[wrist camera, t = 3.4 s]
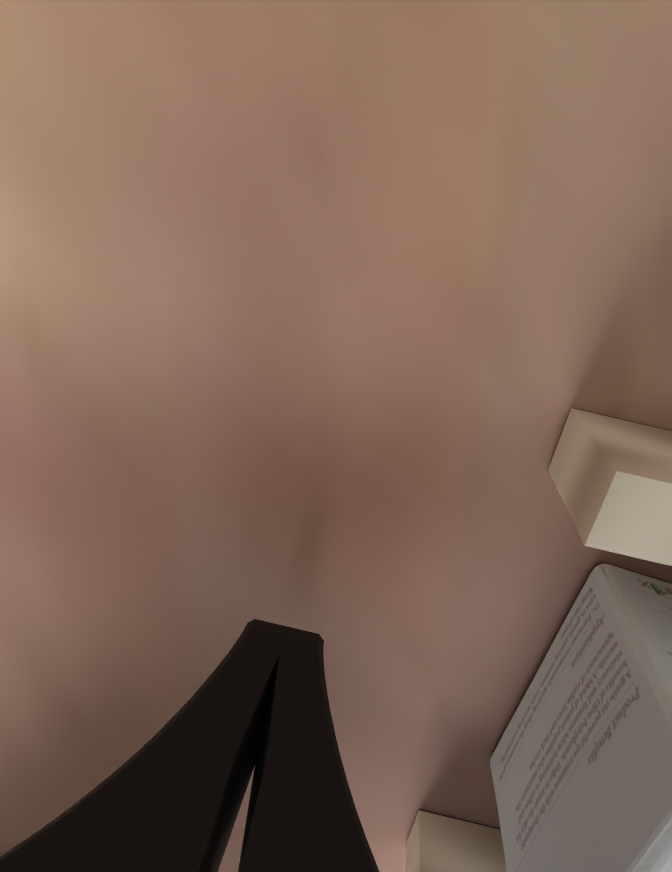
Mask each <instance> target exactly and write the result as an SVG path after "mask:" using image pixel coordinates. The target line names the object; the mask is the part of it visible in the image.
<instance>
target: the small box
mask: <svg viewBox="0 0 672 872" xmlns="http://www.w3.org/2000/svg"><path fill="white" fill-rule="evenodd" d="M490 767H491V772H492V778H493V784H494V789H495V796H496V802H497V808H498V814H499V821H500V828H501V834H502V841H503V847H504V854H505V861H506V867H507V872H672V584H670V583H667V582H664V581H661V580H657V579H654V578H651V577H648V576H644V575H641V574H638V573H635V572H632V571H628V570H625V569H622V568H619V567H616V566H613V565H608V564H600V565H598V566H596V567H595V568H594V569H593V571H592V572H591V574H590V575H589V577H588V579H587V581H586V583H585V585H584V587H583V588H582V590H581V592H580V594H579V595H578V597H577V599H576V601H575V603H574V604H573V606H572V608H571V610H570V612H569V613H568V615H567V617H566V619H565V621H564V623H563V625H562V626H561V628H560V630H559V632H558V634H557V636H556V638H555V640H554V641H553V643H552V645H551V647H550V649H549V651H548V653H547V654H546V656H545V658H544V660H543V662H542V664H541V666H540V668H539V670H538V671H537V673H536V675H535V677H534V679H533V681H532V682H531V684H530V686H529V688H528V690H527V692H526V694H525V695H524V697H523V699H522V701H521V703H520V705H519V706H518V708H517V710H516V712H515V714H514V715H513V717H512V719H511V721H510V723H509V725H508V726H507V728H506V730H505V732H504V734H503V736H502V738H501V740H500V742H499V744H498V746H497V747H496V749H495V751H494V753H493V754H492V756H491V758H490Z"/></svg>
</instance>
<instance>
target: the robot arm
mask: <svg viewBox="0 0 672 872" xmlns="http://www.w3.org/2000/svg"><path fill="white" fill-rule="evenodd" d="M323 644H324V640H323V639H322V637H321V636H320V635H319V634H316V633H312V632H307V631H303V630H299V629H295V628H291V627H286V626H282V625H278V624H274V623H269V622H265V621H261V620H257V619H254V620H252V621H250V622H248V623H247V625H246V627H245V629H244V631H243V632H242V634H241V635H240V637H239V638H238V640H237V642H236V643H235V644H234V646H233V647H232V649H231V650H230V651H229V653H228V654H227V655H226V657H225V658H224V659H223V661H222V662H221V663H220V664H219V666H218V667H217V668H216V670H215V671H214V672H213V673H212V674H211V675H210V677H209V678H208V679H207V680H206V681H205V682H204V684H203V685H202V686H201V687H200V688H199V689H198V691H197V692H196V693H195V694H194V695H193V696H192V698H191V699H190V700H189V701H188V702H187V703H186V704H185V705H184V706H183V707H182V708H181V709H180V710H179V711H178V712H177V713H176V714H175V715H174V716H173V717H172V718H171V720H170V721H169V722H168V723H167V724H166V725H165V726H164V727H163V728H162V729H161V730H160V731H159V732H158V733H157V734H156V735H155V736H154V737H153V738H152V739H151V740H150V741H148V742H147V743H146V744H145V745H144V746H143V747H142V748H141V749H140V750H139V751H138V752H137V753H136V754H134V755H133V756H132V757H131V758H130V759H129V760H128V761H127V762H125V763H124V764H123V765H122V766H121V767H120V768H119V769H117V770H116V771H115V772H114V773H113V774H112V775H110V776H109V777H108V778H107V779H106V780H104V781H103V782H102V783H101V784H99V785H98V786H97V787H96V788H94V789H93V790H92V791H91V792H90V793H88V794H87V795H86V796H85V797H83V798H82V799H81V800H80V801H78V802H77V803H76V804H74V805H73V806H72V807H71V808H69V809H68V810H67V811H65V812H64V813H63V814H61V815H60V816H59V817H57V818H56V819H55V820H53V821H52V822H50V823H49V824H48V825H46V826H45V827H43V828H42V829H40V830H39V831H37V832H36V833H35V834H33V835H32V836H30V837H29V838H27V839H26V840H24V841H23V842H22V843H20V844H19V845H17V846H16V847H14V848H13V849H11V850H10V851H9V852H7V853H6V854H4V855H3V856H1V857H0V872H218V869H219V866H220V863H221V860H222V857H223V855H224V852H225V849H226V846H227V843H228V840H229V837H230V835H231V832H232V829H233V826H234V823H235V820H236V817H237V815H238V812H239V809H240V806H241V803H242V800H243V797H244V794H245V792H246V789H247V786H248V783H249V780H250V777H251V774H252V771H253V769H254V766H255V769H254V775H253V781H252V787H251V794H250V800H249V806H248V813H247V819H246V825H245V832H244V838H243V844H242V851H241V857H240V863H239V870H238V872H379V870H378V867H377V865H376V862H375V860H374V857H373V854H372V852H371V849H370V847H369V844H368V842H367V839H366V836H365V833H364V831H363V828H362V825H361V822H360V819H359V817H358V814H357V811H356V808H355V805H354V802H353V798H352V795H351V792H350V789H349V785H348V782H347V779H346V775H345V771H344V768H343V764H342V760H341V757H340V753H339V749H338V745H337V741H336V736H335V731H334V726H333V722H332V717H331V712H330V707H329V701H328V695H327V688H326V681H325V672H324V659H323Z"/></svg>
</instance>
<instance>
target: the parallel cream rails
mask: <svg viewBox="0 0 672 872" xmlns="http://www.w3.org/2000/svg"><path fill="white" fill-rule="evenodd" d="M548 472H549V474H550V476H551V478H552V480H553V482H554V484H555V486H556V488H557V490H558V492H559V494H560V496H561V498H562V500H563V503H564V505H565V507H566V509H567V511H568V513H569V515H570V517H571V519H572V521H573V523H574V525H575V527H576V529H577V531H578V533H579V535H580V537H581V539H582V541H583V543H584V545H585V546H587V547H592V548H596V549H600V550H605V551H609V552H613V553H617V554H622V555H626V556H630V557H635V558H639V559H643V560H647V561H652V562H656V563H660V564H665V565H669V566H672V431H668V430H664V429H660V428H655V427H651V426H647V425H642V424H638V423H634V422H629V421H625V420H621V419H616V418H612V417H607V416H603V415H599V414H594V413H590V412H586V411H581V410H577V409H573V408H571V410H570V413H569V415H568V418H567V421H566V423H565V426H564V429H563V431H562V434H561V437H560V439H559V442H558V444H557V447H556V450H555V452H554V455H553V458H552V460H551V463H550V465H549V468H548ZM406 872H507V867H506V861H505V854H504V847H503V841H502V834H501V830H499V829H495V828H491V827H487V826H482V825H478V824H474V823H470V822H466V821H462V820H458V819H453V818H449V817H445V816H441V815H437V814H433V813H428V812H424V811H420V810H419V811H418V813H417V816H416V819H415V821H414V824H413V826H412V829H411V832H410V834H409V837H408V840H407V842H406Z"/></svg>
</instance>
